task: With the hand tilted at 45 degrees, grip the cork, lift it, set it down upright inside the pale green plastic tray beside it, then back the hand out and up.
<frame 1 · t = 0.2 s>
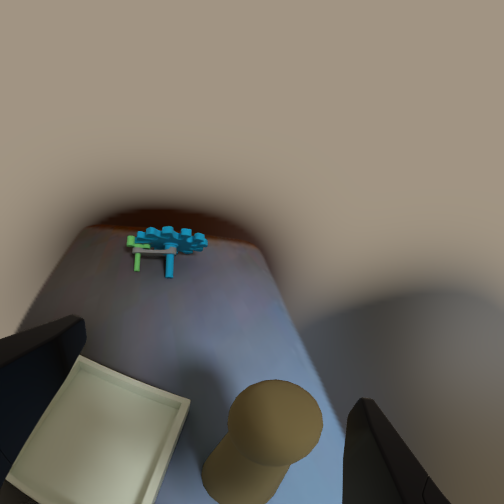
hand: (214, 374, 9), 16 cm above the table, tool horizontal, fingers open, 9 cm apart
gear: (164, 266, 43), on the table
tray: (97, 449, 18), on the table
cork: (239, 477, 19), on the table
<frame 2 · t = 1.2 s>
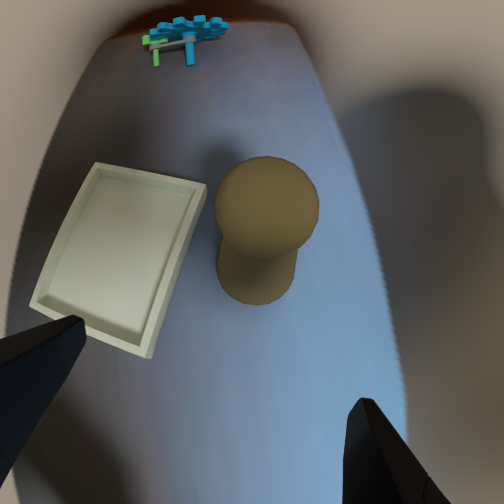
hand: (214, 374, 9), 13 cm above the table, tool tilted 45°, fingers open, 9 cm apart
gear: (186, 55, 35), on the table
tray: (118, 253, 24), on the table
cork: (255, 267, 24), on the table
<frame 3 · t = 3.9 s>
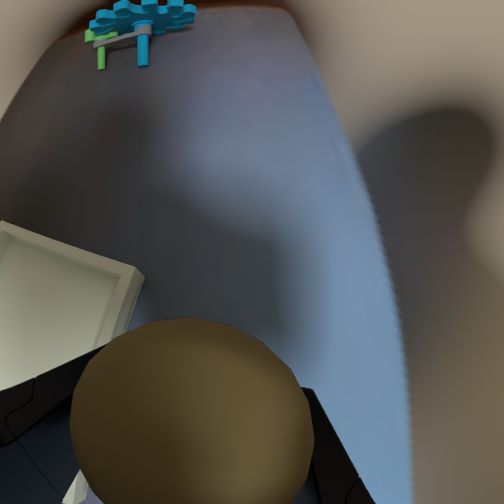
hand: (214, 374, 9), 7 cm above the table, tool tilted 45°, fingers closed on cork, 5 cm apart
gear: (143, 53, 25), on the table
tray: (32, 358, 14), on the table
cork: (216, 398, 14), on the table, touching gripper
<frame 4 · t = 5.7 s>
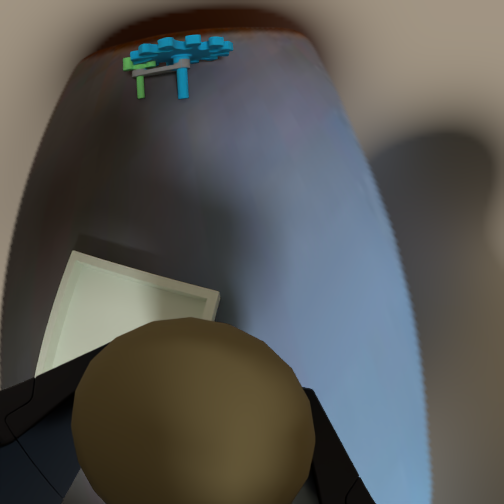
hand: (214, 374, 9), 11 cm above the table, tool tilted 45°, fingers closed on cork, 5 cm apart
gear: (180, 82, 29), on the table
tray: (117, 372, 19), on the table
cork: (218, 397, 14), point 4 cm above the table, touching gripper
when the fingers open (8 cm above the table, at t = 7.5 s): cork stays where it is, resting on tray.
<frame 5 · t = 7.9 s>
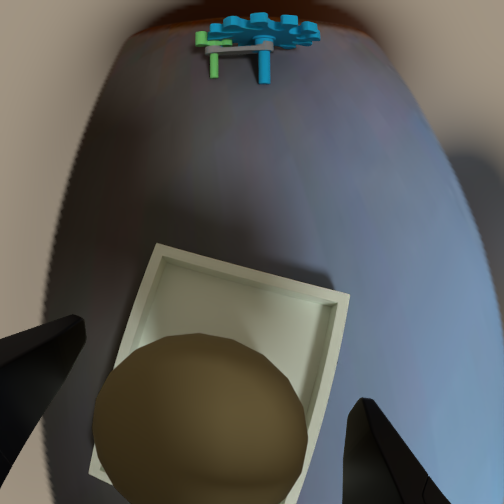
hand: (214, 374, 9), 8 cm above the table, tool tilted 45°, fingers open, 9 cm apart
gear: (255, 67, 26), on the table
tray: (217, 395, 16), on the table
cork: (219, 400, 15), resting on tray
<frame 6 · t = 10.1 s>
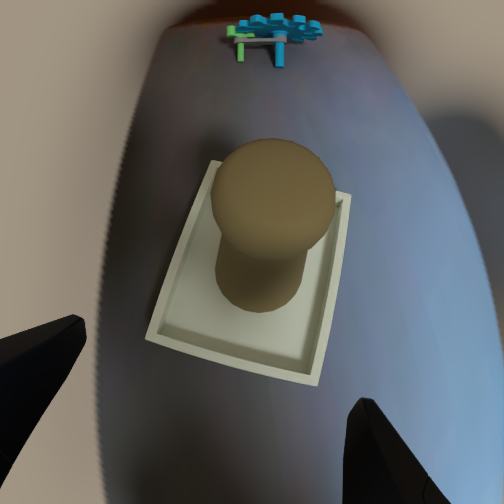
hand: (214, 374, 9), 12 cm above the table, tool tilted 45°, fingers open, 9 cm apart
gear: (272, 55, 33), on the table
tray: (257, 269, 22), on the table
cork: (258, 270, 22), resting on tray
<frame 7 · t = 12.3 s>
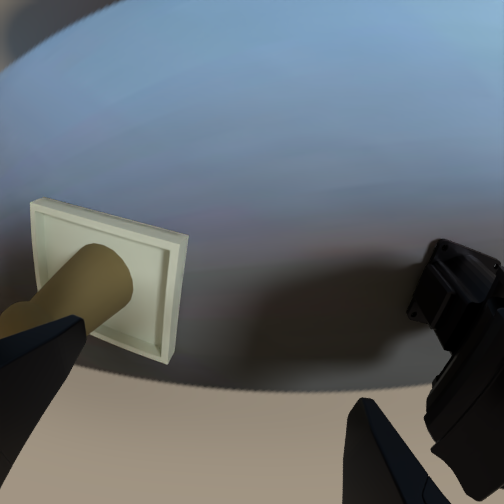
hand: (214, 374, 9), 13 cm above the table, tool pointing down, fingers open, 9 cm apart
tray: (104, 275, 24), on the table
cork: (103, 276, 24), resting on tray
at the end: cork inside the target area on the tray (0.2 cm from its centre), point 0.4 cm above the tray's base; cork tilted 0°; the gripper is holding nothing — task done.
